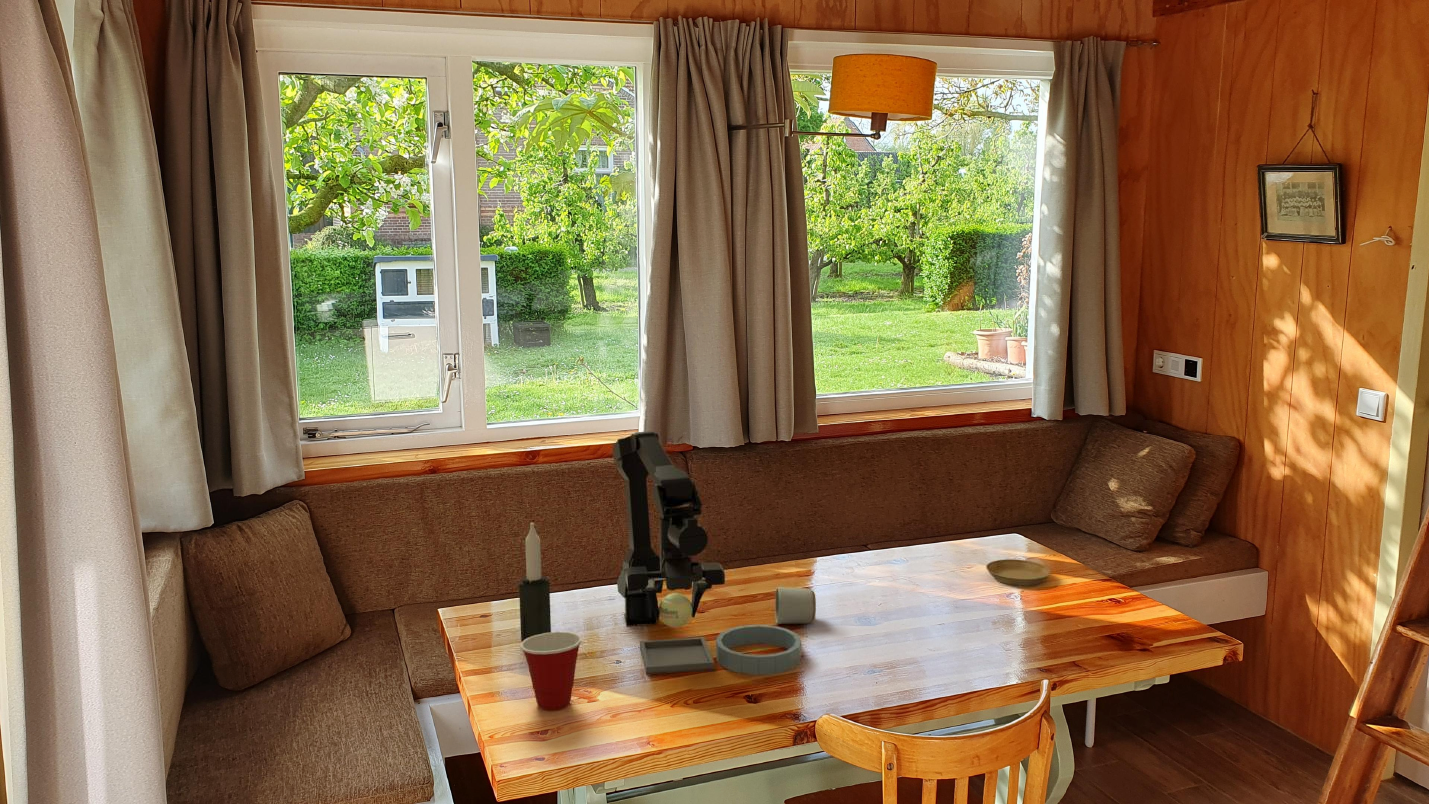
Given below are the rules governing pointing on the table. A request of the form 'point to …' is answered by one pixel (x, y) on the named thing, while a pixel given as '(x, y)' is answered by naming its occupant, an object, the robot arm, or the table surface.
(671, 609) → the tennis ball
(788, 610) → the ceramic mug
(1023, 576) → the plant saucer
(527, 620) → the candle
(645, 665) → the tray
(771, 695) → the table surface
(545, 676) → the plastic cup
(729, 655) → the gray open ring
